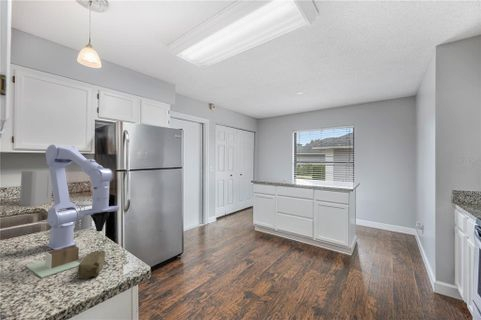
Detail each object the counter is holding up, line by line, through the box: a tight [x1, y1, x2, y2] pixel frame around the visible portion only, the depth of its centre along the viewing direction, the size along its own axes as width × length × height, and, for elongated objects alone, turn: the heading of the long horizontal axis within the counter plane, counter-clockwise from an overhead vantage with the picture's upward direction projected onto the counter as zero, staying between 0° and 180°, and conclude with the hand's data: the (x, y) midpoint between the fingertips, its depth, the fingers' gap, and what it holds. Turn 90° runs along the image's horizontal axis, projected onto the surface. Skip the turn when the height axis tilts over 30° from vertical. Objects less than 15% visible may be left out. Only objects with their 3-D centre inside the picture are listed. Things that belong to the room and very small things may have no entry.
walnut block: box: [44, 245, 80, 269], centre depth 78 cm, size 4×4×8 cm
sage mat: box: [25, 259, 80, 279], centre depth 76 cm, size 14×11×1 cm
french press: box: [73, 183, 95, 232], centre depth 120 cm, size 10×12×25 cm
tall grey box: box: [19, 170, 53, 207], centre depth 180 cm, size 19×15×28 cm
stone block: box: [77, 250, 106, 280], centre depth 74 cm, size 6×12×5 cm, turn 22°
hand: (99, 231), depth 89 cm, fingers closed
